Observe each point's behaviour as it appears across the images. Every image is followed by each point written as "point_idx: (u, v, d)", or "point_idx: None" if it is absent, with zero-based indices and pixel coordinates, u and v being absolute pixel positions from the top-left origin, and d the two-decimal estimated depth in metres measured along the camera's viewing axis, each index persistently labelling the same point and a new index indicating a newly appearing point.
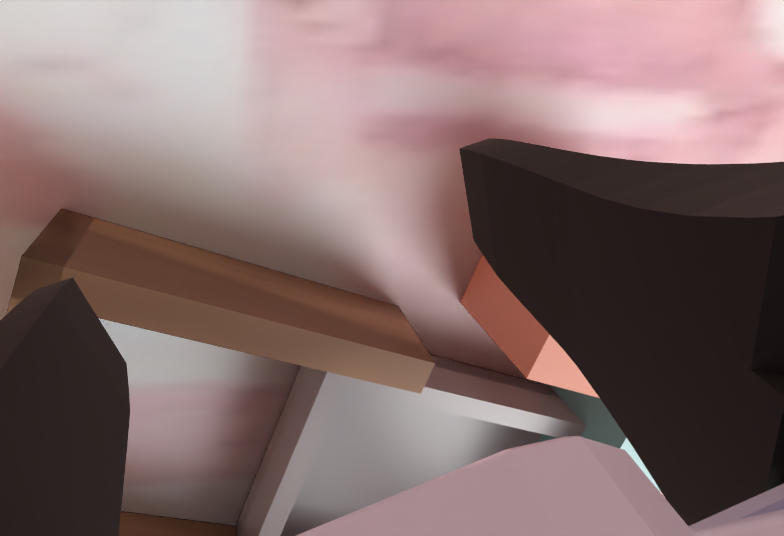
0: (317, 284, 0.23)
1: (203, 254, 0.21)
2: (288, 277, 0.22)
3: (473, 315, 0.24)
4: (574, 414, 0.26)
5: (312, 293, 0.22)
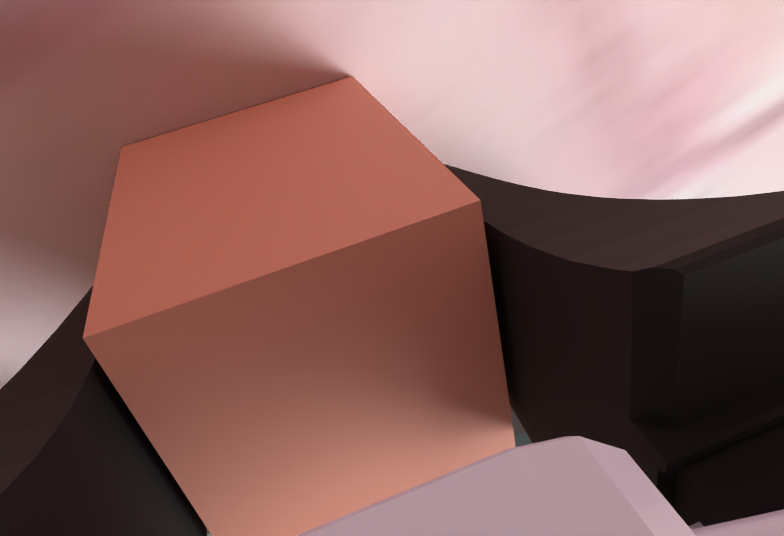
0: None
1: None
2: None
3: None
4: None
5: None
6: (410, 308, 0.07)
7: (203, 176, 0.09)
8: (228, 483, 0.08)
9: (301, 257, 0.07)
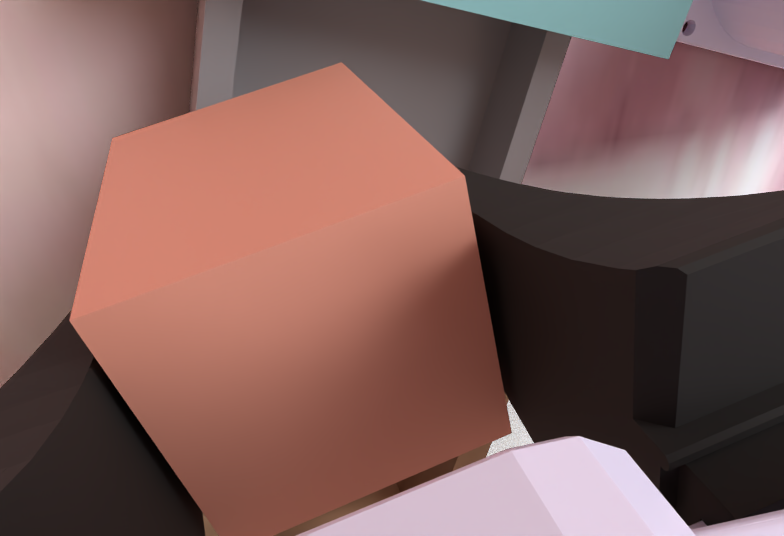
0: None
1: None
2: None
3: None
4: None
5: None
6: (399, 286, 0.07)
7: (192, 163, 0.09)
8: (222, 467, 0.08)
9: (287, 236, 0.07)
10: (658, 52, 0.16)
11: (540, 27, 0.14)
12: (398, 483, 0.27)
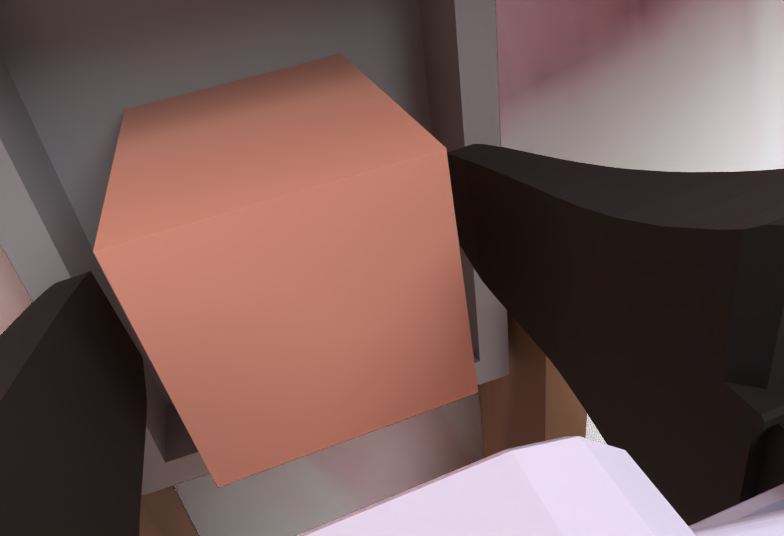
0: None
1: None
2: None
3: None
4: None
5: None
6: (383, 245, 0.08)
7: (202, 132, 0.10)
8: (215, 401, 0.09)
9: (289, 190, 0.08)
10: None
11: None
12: None
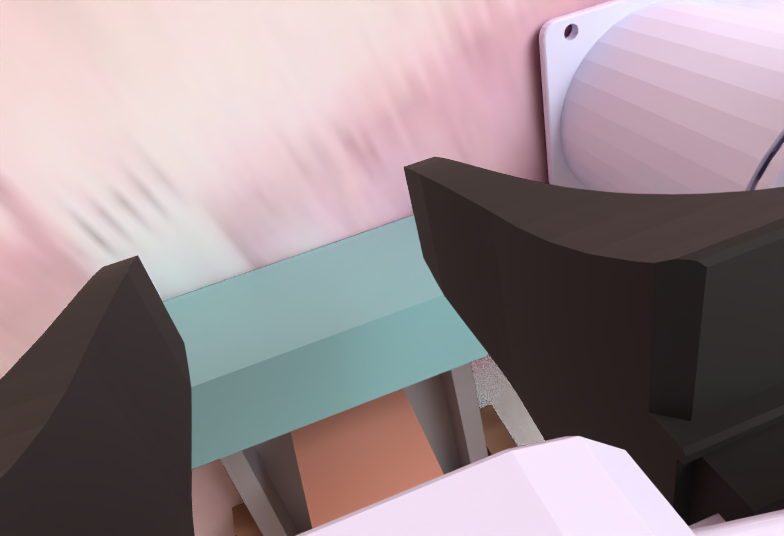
0: None
1: None
2: None
3: None
4: None
5: None
6: None
7: (335, 446, 0.22)
8: None
9: None
10: None
11: (422, 380, 0.20)
12: None
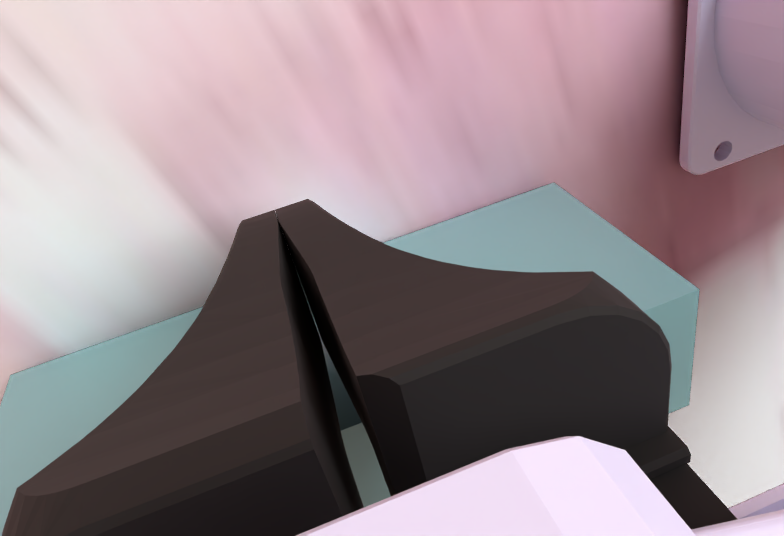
0: None
1: None
2: None
3: None
4: None
5: None
6: None
7: None
8: None
9: None
10: (672, 409, 0.12)
11: None
12: None
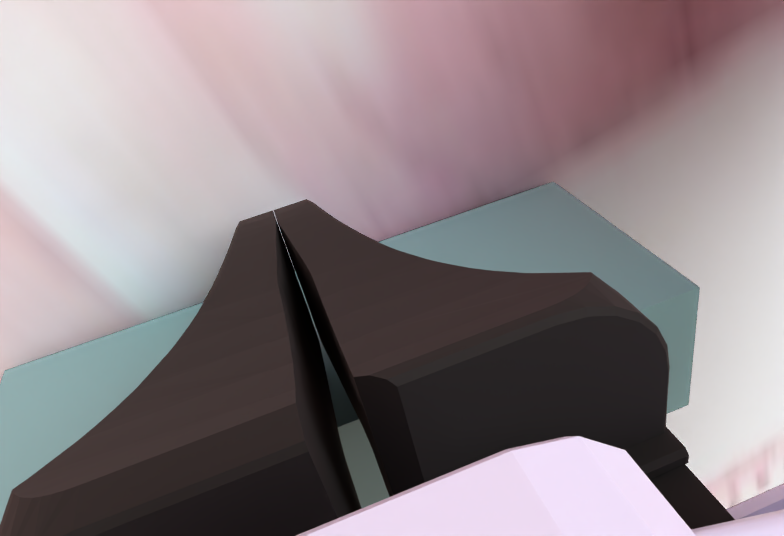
0: None
1: None
2: None
3: None
4: None
5: None
6: None
7: None
8: None
9: None
10: (671, 409, 0.12)
11: None
12: None
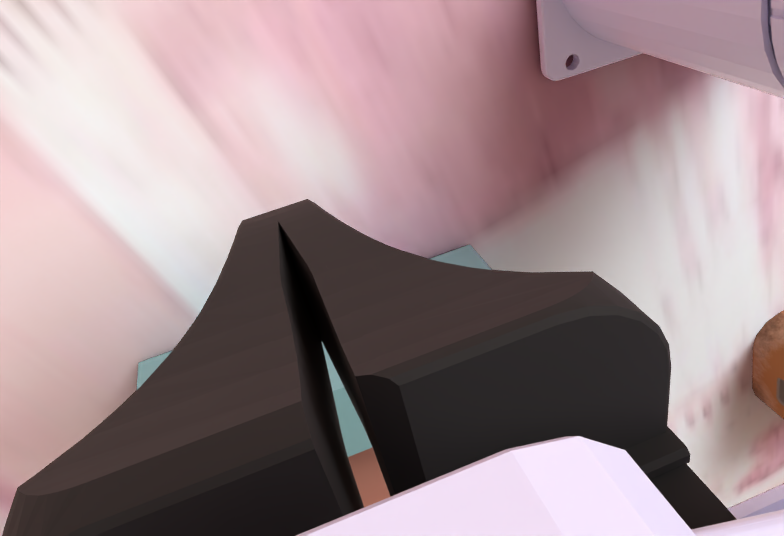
0: None
1: None
2: None
3: None
4: None
5: None
6: None
7: None
8: None
9: None
10: None
11: None
12: None
